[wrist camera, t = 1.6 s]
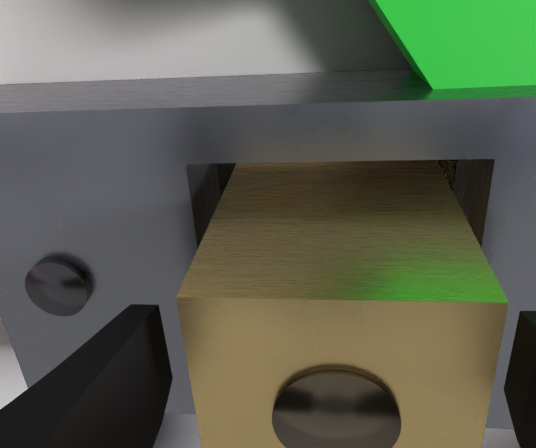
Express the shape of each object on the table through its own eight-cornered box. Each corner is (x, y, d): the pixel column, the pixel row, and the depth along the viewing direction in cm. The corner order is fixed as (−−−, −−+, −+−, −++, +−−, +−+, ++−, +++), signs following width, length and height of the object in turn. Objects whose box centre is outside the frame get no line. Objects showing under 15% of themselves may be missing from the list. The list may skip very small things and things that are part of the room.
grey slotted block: (491, 353, 16) (524, 438, 14) (77, 341, 18) (29, 414, 15) (544, 64, 12) (609, 98, 9) (3, 84, 14) (-83, 119, 11)
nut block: (415, 299, 16) (469, 524, 10) (255, 296, 17) (209, 507, 10) (428, 144, 14) (512, 309, 7) (243, 148, 14) (173, 302, 8)
